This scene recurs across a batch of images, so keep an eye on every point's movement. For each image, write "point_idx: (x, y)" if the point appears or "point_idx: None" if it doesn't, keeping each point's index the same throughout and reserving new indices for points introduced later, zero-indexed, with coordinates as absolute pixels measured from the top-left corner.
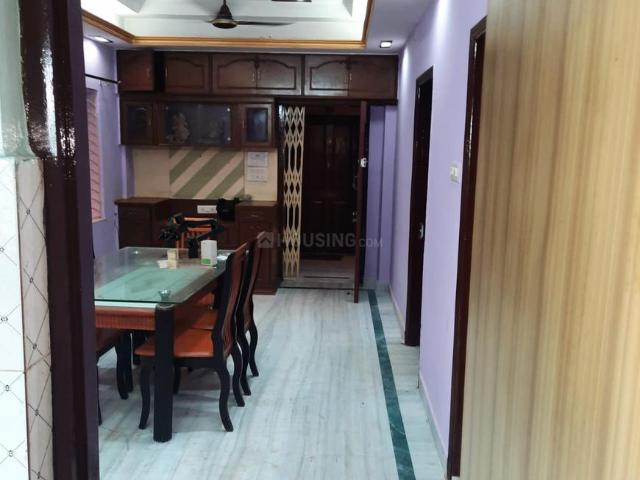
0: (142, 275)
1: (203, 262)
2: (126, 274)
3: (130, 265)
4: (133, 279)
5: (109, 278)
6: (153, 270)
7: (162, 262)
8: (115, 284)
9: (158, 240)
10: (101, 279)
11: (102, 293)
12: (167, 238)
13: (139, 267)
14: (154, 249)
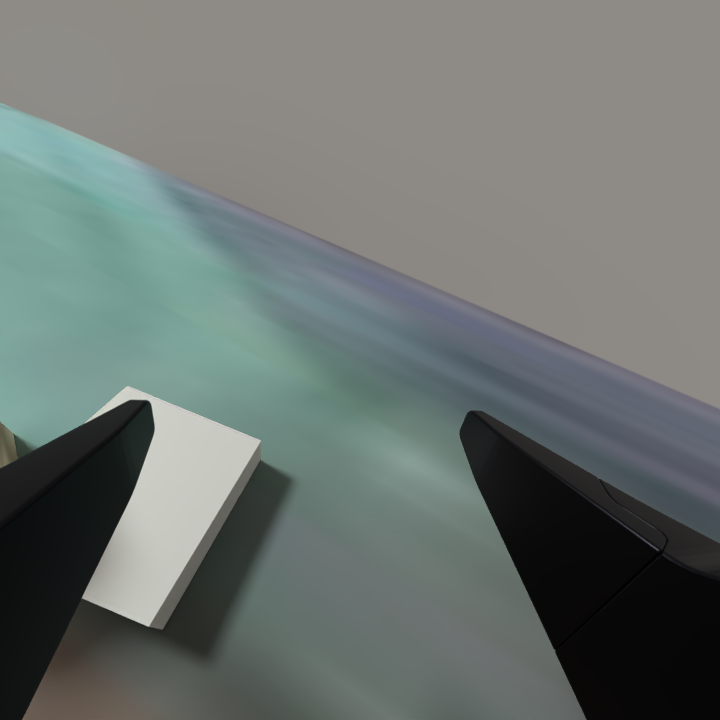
0: (102, 263)
1: None
2: (222, 259)
3: (422, 371)
4: (86, 217)
5: (227, 216)
6: (135, 349)
7: None
8: (106, 175)
9: (467, 450)
10: (243, 207)
11: (52, 126)
12: (78, 456)
13: (320, 363)
14: None
